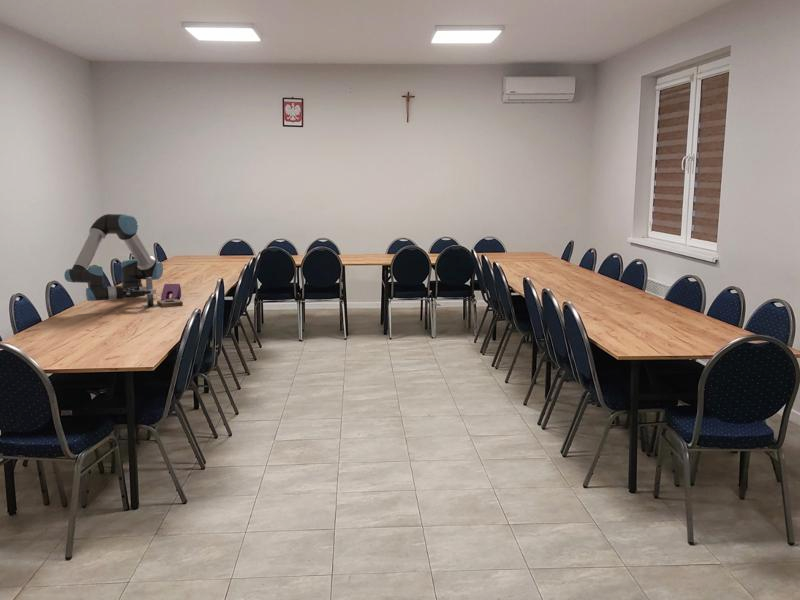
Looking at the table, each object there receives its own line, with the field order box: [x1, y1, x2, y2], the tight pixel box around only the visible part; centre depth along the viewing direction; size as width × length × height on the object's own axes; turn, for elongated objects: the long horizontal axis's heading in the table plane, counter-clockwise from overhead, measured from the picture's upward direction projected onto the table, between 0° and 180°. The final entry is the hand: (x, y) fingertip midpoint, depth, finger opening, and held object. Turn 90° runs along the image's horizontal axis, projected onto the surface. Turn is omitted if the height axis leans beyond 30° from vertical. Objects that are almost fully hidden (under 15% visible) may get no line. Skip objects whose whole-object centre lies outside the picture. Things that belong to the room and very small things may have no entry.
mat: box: [141, 303, 160, 309], centre depth 428 cm, size 10×8×1 cm
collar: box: [156, 299, 184, 308], centre depth 433 cm, size 12×12×2 cm
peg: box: [145, 277, 154, 307], centre depth 427 cm, size 3×3×17 cm
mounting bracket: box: [160, 283, 182, 300], centre depth 451 cm, size 9×8×18 cm
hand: (153, 289), depth 428 cm, fingers open, 13 cm apart
